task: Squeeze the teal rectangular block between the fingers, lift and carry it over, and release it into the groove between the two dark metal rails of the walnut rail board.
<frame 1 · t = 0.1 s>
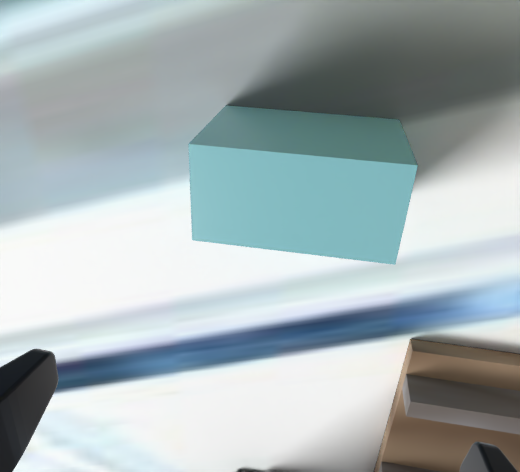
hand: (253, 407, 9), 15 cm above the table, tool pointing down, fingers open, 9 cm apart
teal rectangular block: (306, 153, 22), on the table
rail board: (519, 434, 28), on the table
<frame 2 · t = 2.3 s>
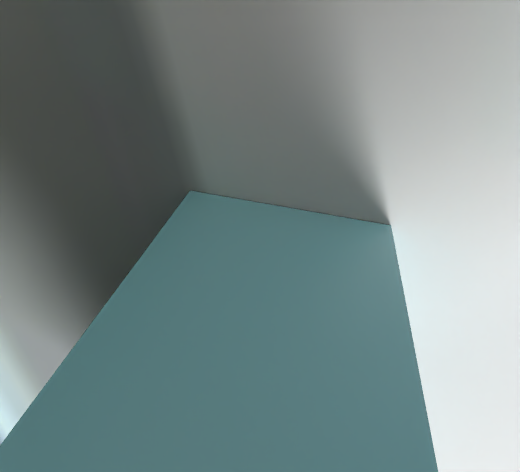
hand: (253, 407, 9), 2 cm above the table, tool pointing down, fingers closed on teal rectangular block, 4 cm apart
teal rectangular block: (264, 354, 11), on the table, touching gripper
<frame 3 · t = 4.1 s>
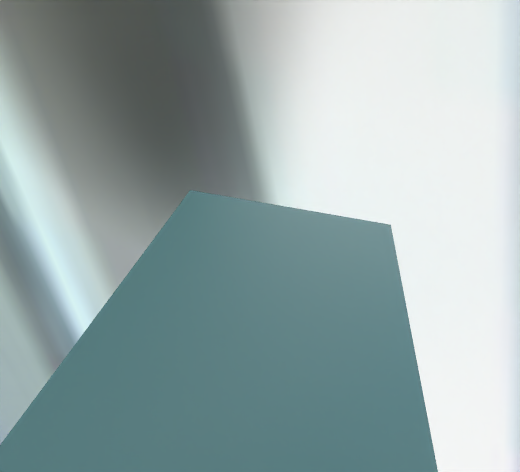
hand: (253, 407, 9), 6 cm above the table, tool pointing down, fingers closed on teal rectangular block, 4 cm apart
teal rectangular block: (264, 354, 11), point 5 cm above the table, touching gripper
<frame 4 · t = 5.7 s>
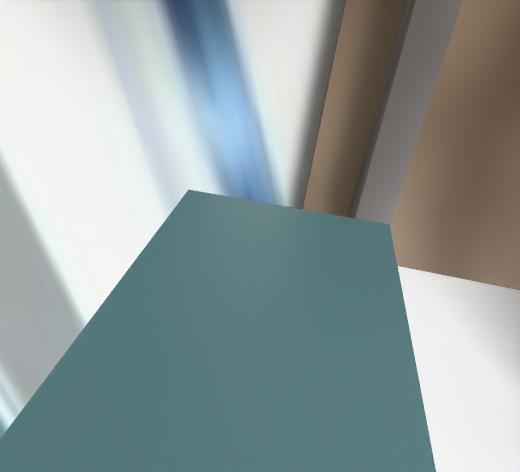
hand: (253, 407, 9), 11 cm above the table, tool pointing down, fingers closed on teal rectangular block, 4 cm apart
teal rectangular block: (263, 354, 11), point 9 cm above the table, touching gripper
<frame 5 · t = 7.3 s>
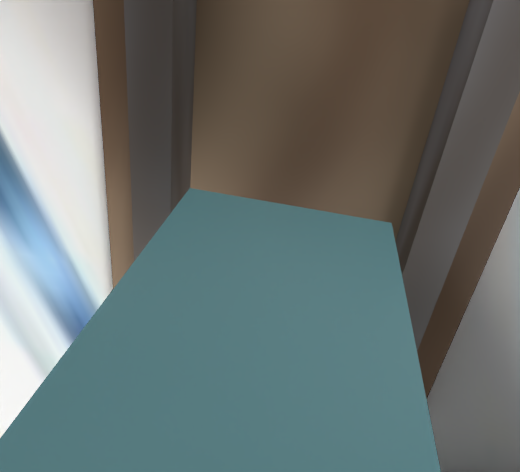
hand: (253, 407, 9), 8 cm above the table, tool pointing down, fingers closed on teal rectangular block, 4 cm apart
teal rectangular block: (265, 353, 11), point 6 cm above the table, touching gripper
rail board: (290, 227, 16), on the table
when the fingers open (4 cm above the table, at t = 8.9 s): teal rectangular block drops 1 cm, resting on rail board.
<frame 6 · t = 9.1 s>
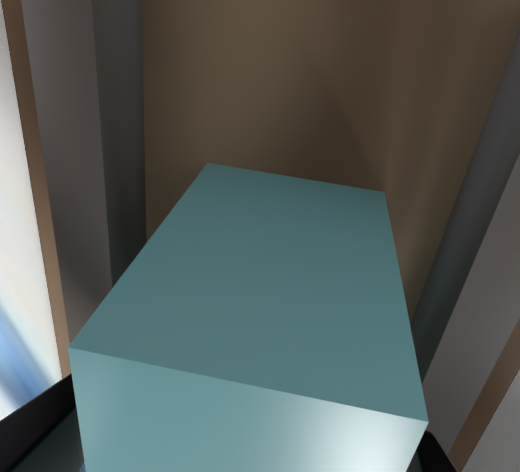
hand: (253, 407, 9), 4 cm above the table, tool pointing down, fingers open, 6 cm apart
teal rectangular block: (272, 314, 12), point 1 cm above the table, touching rail board
rail board: (277, 293, 13), on the table
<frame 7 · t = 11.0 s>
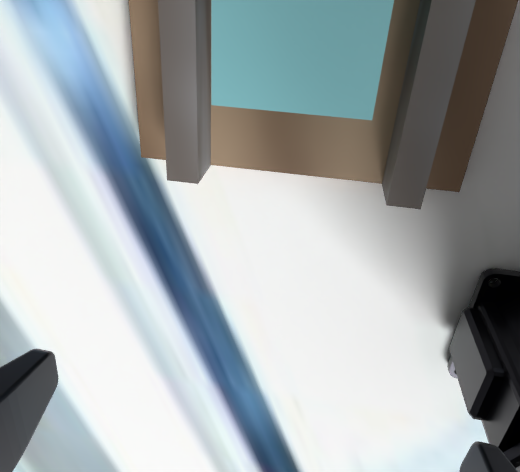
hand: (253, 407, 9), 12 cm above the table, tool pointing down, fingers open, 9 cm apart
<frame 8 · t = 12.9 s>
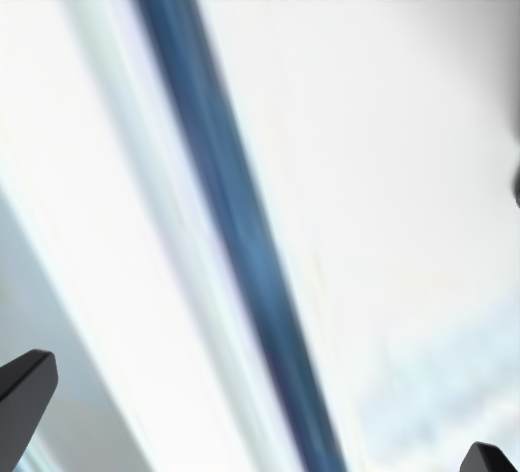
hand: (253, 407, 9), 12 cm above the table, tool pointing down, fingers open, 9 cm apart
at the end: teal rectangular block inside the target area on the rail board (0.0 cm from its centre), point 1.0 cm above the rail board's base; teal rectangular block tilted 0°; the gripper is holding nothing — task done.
